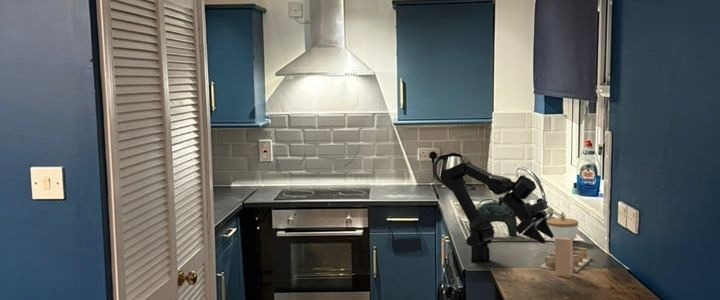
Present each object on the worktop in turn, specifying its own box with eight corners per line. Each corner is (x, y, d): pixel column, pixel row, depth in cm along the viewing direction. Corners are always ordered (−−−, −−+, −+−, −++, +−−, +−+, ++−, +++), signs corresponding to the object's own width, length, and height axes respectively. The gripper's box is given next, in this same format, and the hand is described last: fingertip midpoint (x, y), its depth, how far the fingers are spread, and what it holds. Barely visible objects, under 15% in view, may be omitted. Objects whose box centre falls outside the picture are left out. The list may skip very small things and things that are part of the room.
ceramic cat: (518, 234, 286) (518, 190, 284) (521, 237, 280) (521, 192, 278) (474, 234, 288) (473, 190, 286) (475, 237, 281) (475, 193, 280)
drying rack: (540, 267, 231) (540, 256, 230) (557, 254, 248) (557, 244, 248) (576, 272, 223) (576, 261, 223) (591, 258, 241) (591, 248, 240)
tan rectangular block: (569, 277, 218) (569, 240, 217) (555, 275, 221) (555, 238, 220) (572, 274, 221) (572, 238, 220) (558, 272, 224) (558, 236, 223)
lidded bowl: (581, 240, 270) (581, 215, 269) (573, 247, 259) (573, 220, 258) (552, 237, 277) (551, 212, 276) (543, 243, 266) (543, 217, 265)
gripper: (524, 195, 217) (557, 230, 211) (541, 188, 232) (572, 220, 227) (502, 216, 222) (534, 251, 216) (521, 208, 237) (551, 240, 232)
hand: (548, 240), depth 223 cm, fingers open, 9 cm apart
